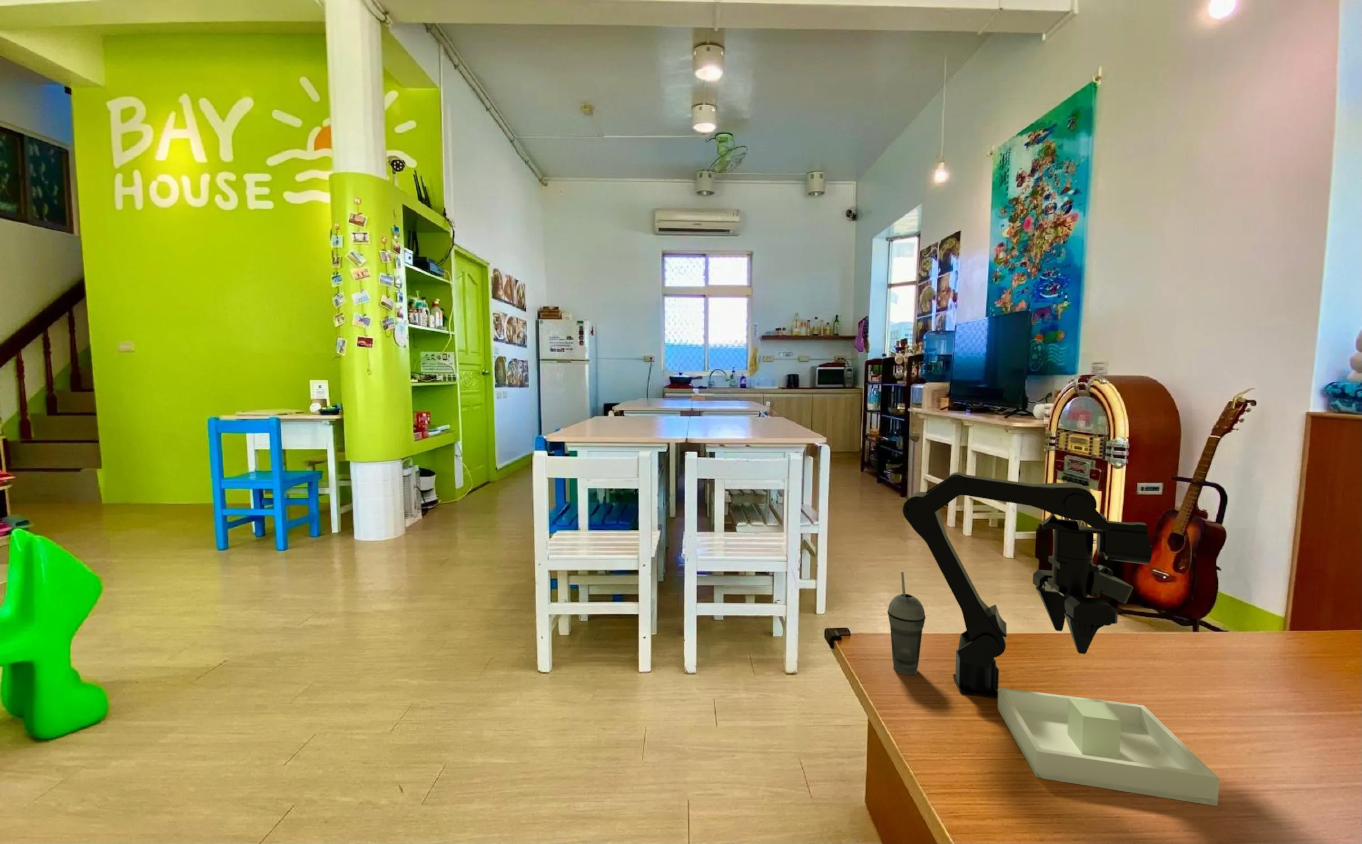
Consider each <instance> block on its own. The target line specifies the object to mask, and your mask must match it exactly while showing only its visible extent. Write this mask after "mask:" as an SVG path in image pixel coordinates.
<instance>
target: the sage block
mask: <svg viewBox="0 0 1362 844" xmlns="http://www.w3.org/2000/svg"><path fill="white" fill-rule="evenodd" d="M1067 734H1068V736H1069V737H1070V738H1071V740H1072V741H1073V742H1074V744H1075V745H1076V746H1077V748H1078V749H1079V750H1080V752H1081V753H1082V754H1089V755H1096V756H1103V757H1110V758H1117V759H1119V758H1120V734H1121V720H1120V719H1119V718H1118V717H1117V716H1116V715H1115V714H1114V713H1113V712H1112V711H1111V710H1110V708H1109V707H1108V706H1107V705H1106V704H1105V703H1102V702H1094V701H1086V700H1077V699H1069V703H1068V731H1067Z"/></svg>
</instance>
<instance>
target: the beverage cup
mask: <svg viewBox="0 0 1362 844" xmlns="http://www.w3.org/2000/svg"><path fill="white" fill-rule="evenodd" d="M904 574H905V573H904V571H901V572H900V577H901V578H900V579H901V590H902V591H901V592H902V593H901V594H898V595H895V596H894V597H893V598H892V599H891V601H890V602H889V604H888V608H887V610H886V611H887V615H888V621H889V628H890V640H891V641H890V642H891V654H892V655H891V656H892V657H891V658H892V663H893V664H892V665H893V670H894V671H896V672H897V673H899V674H901V675H907V676H913V675H916V674H917V672H918V668H919V661H920V653H921V645H922V644H921V643H922V637H923V636H922V635H923V628H924V627H925V621H926V617H927V616H926V615H925V613H926V612H925V609H924V606H923V604H922V602H921V601H920V600H919V598H917V597H915V596H914V595H912V594H909V593H906V585H905V584H906V583H905V575H904Z"/></svg>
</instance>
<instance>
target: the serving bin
mask: <svg viewBox="0 0 1362 844" xmlns="http://www.w3.org/2000/svg"><path fill="white" fill-rule="evenodd" d="M997 693H998V697H997V711H998V712H999V714H1000V716H1001V718H1002V719H1003V721H1004V722H1005V725H1006V727H1007V728H1008V730H1009V732H1010V734H1011V735H1012V737H1013V739H1014V741H1015V742H1016V744H1017V746H1018V748H1019V750H1020V752H1022V754H1023V756H1024V759H1025V761H1026V762H1027V764H1028V766H1029V767H1030V770H1031V771H1032V772H1033V774H1034V776H1035V778H1036V779H1043V780H1048V781H1049V780H1050V781H1056V782H1061V783H1062V782H1063V783H1070V784H1076V785H1083V786H1088V787H1095V788H1100V789H1107V790H1114V791H1120V792H1125V793H1132V794H1138V795H1139V794H1140V795H1143V796H1144V795H1145V796H1152V797H1157V798H1164V799H1169V800H1170V799H1171V800H1177V801H1183V802H1190V803H1195V804H1196V803H1197V804H1202V805H1208V806H1215V807H1218V806H1219V787H1220V777H1218V775H1216V774H1215V772H1214V771H1212V769H1210V768H1209V767H1208V766H1207V765H1206V764H1205V763H1204V762H1203V761H1202V760H1201V759H1200V758H1199V757H1198V756H1197V755H1196V754H1195V753H1194V752H1193V751H1192V750H1190V748H1188V746H1187V745H1185V743H1183V742H1182V740H1180V739H1179V738H1178V737H1177V736H1176V735H1175V734H1174V733H1173V732H1172V731H1171V730H1170V729H1169V728H1167V726H1166V725H1165V724H1164V723H1162V722H1161V720H1160V719H1158V718H1157V717H1156V716H1155V715H1154V714H1153V713H1152V712H1151V711H1150V710H1149V709H1148V708H1147V707H1146V706H1145V705H1144V704H1136V703H1129V702H1128V703H1127V702H1118V701H1111V700H1104V699H1095V698H1087V697H1079V696H1078V697H1077V696H1071V695H1062V694H1055V693H1053V694H1052V693H1047V692H1038V691H1029V690H1022V689H1021V690H1020V689H1014V688H1007V687H1005V688H1004V687H998V690H997ZM1069 699H1077V700H1086V701H1094V702H1102V703H1105V704H1106V705H1107V706H1108V707H1109V708H1110V710H1111V711H1112V712H1113V713H1114V714H1115V715H1116V716H1117V717H1118V718H1119V719H1120V720H1121V734H1120V758H1119V759H1117V758H1110V757H1103V756H1096V755H1089V754H1082V753H1081V752H1080V750H1079V749H1078V748H1077V746H1076V745H1075V744H1074V742H1073V741H1072V740H1071V738H1070V737H1069V736H1068V734H1067V731H1068V703H1069Z"/></svg>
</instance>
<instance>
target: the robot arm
mask: <svg viewBox="0 0 1362 844" xmlns="http://www.w3.org/2000/svg"><path fill="white" fill-rule="evenodd" d="M959 496H967V497H973V498H979V499H986V500H993V501H997V502H1004V503H1011V504H1018V505H1023V506H1030V507H1034V508H1037V509H1039V510H1041V511H1045V512H1047V513H1049V514H1050V515H1049V516H1048V517H1047V518H1045V519H1043V520H1042V521H1041V522H1040V523H1041V526H1042V528H1043V529H1047V530H1048V529H1049V530H1053V541H1052V542H1053V543H1052V544H1053V545H1052V555H1048V561H1047V562H1049V563H1050V564H1051V565H1052V567H1051V568H1052V570H1047V569H1037V570H1036V571H1034V573H1032V584H1033V585H1034V586H1035V590H1036V591H1037V593H1038V596H1039V597H1040V600H1041V603H1043V606H1044V607H1045V611H1046V612H1047V615H1048V618H1049V619H1050V622H1051V624H1052V626H1053V629H1054V630H1055V631H1057V632H1062V631H1064V626H1065V621H1066V623H1067V626H1068V629H1069V632H1070V635H1071V637H1072V641H1073V644H1074V646H1075V649H1076V652H1077V653H1078V654H1079V655H1080V654H1082V655H1086V654H1087V652H1088V650H1089V647H1090V646H1091V643H1092V641H1093V640H1094V637H1095V635H1096V633H1097V632H1098V631H1099V629H1100V628H1103V627H1105V626H1107V627H1108V626H1111V625H1112V624H1113V625H1117V624H1118V619H1119V617H1118V616H1119V611H1118V610H1117V609H1115V607H1114V606H1113V605H1111V604H1110V603H1108V602H1107V601H1106V600H1104V599H1103V598H1101V594H1102V595H1104V596H1107V597H1109V598H1112V599H1114V600H1117V601H1118V602H1119V603H1122V604H1127V602H1128V599H1129V597H1130V595H1131V593H1132V591H1133V589H1134V587H1133V586H1132V585H1131V584H1129V583H1127V582H1125V581H1124V580H1122V579H1120V578H1118V577H1116V576H1114V574H1113V573H1114V571H1113V570H1112V569H1110V568H1108V567H1106V566H1105V565H1102V564H1098V565H1096V564H1094V563H1093V562H1094V560H1093V559H1094V557H1093V556H1094V537H1095V535H1094V534H1096V550H1097V553H1098V554H1103V556H1104V559H1105V560H1107V561H1116V562H1125V563H1133V564H1142V565H1147V566H1148V565H1149V564H1150V563H1151V560H1152V557H1153V556H1152V555H1153V554H1152V552H1153V547H1152V545H1151V540H1150V534H1149V526H1148V525H1147V524H1146V523H1145V522H1141V521H1140V522H1138V521H1137V522H1135V521H1133V522H1126V521H1117V520H1107V517H1106V516H1104V514H1103V513H1099V512H1098V510H1097V506H1098V505H1097V504H1098V503H1097V500H1096V498H1095V495H1093V493H1091V491H1090V490H1089V489H1088V488H1087V487H1085V486H1084V485H1083V484H1080V483H1078V482H1077V483H1076V482H1046V483H1027V482H1022V481H1021V482H1020V481H1013V480H1007V479H1000V478H992V477H985V476H979V475H971V474H966V473H963V472H956V471H955V472H952V473H950V474H949V475H948V477H946V478H945V479H944V480H942V481H940V482H939V483H936V484H935V485H934V486H932V487H931V488H929V489H928V490H926V491H917V492H914V493H912V494H911V495H910V496H909V497H908V498H907V500H906V501H905V502H904V504H903V507H902V513H903V516H904V518H905V520H906V521H907V522H908V524H909V525H910V526H911V527H912V529H913V531H914V532H915V533H916V534H918V535H919V537H920V538H921V539H922V540H923V541H924V542H925V543H926V544H927V547H928V549H929V550H930V552H931V554H932V557H933V558H934V560H935V563H936V564H937V566H938V567H939V570H940V572H941V573H942V576H943V577H944V579H945V581H946V583H947V584H948V587H949V589H950V591H951V592H952V594H953V596H954V598H955V600H956V602H957V605H959V608H960V610H961V613H962V617H963V622H964V626H965V631H963V632H961V633H960V635H959V640H958V647H957V650H955V673H954V674H952V675H953V676H952V678H953V680H954V682H955V684H956V687H957V689H958V691H959V692H960V693H961V694H964V695H965V694H967V695H975V696H980V697H981V696H982V697H989V698H998V688H999V676H1000V669H999V667H998V666H997V661H996V659H995V658H997V657H1000V656H1002V655H1003V654H1004V653H1005V650H1006V648H1007V646H1006V644H1007V642H1006V637H1007V635H1008V634H1007V622H1006V621H1005V620H1004V619H1003V618H1002V616H1001V615H1000V613H999V609H998V607H997V604H993V605H991V606H988V605H987V604H986V602H984V601H983V599H982V598H981V597H980V595H979V593H978V590H977V589H976V587H975V585H974V583H973V582H972V579H971V578H970V575H969V574H968V572H967V570H966V568H965V566H964V565H963V562H962V561H961V559H960V557H959V555H958V554H957V551H956V549H955V548H954V545H953V544H952V542H951V540H950V539H949V537H948V535H947V532H946V530H945V524H944V521H943V517H942V514H941V511H940V509H942V508H944V507H945V506H946V505H948V504H949V503H951V501H953V500H955V499H956V498H957V497H959ZM1057 516H1058V517H1062V518H1058V517H1057ZM1064 518H1065V519H1064ZM1078 521H1082V522H1084V523H1085V524H1086V525H1087V526H1085V525H1080V524H1079V522H1078ZM1089 596H1092V597H1089Z"/></svg>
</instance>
